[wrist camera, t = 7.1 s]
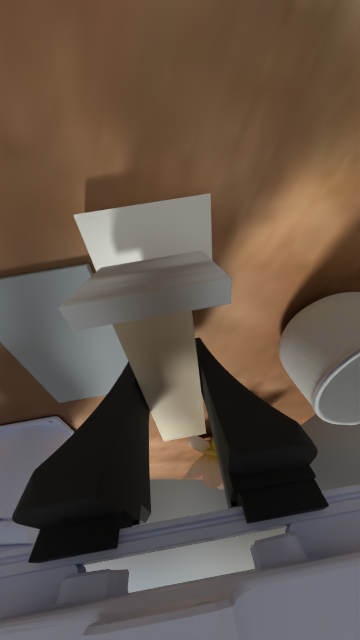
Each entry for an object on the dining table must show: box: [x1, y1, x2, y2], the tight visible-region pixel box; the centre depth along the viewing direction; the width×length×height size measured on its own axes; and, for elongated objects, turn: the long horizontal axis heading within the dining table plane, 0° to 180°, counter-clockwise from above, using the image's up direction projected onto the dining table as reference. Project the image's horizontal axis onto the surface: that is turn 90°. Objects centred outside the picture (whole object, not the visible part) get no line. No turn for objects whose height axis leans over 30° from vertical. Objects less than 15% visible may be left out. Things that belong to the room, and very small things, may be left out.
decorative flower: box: [182, 436, 224, 490], centre depth 27 cm, size 15×11×10 cm
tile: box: [73, 193, 212, 272], centre depth 13 cm, size 8×2×7 cm
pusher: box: [59, 250, 232, 441], centre depth 11 cm, size 6×11×5 cm, turn 8°
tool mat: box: [0, 263, 128, 403], centre depth 17 cm, size 10×15×1 cm, turn 8°
